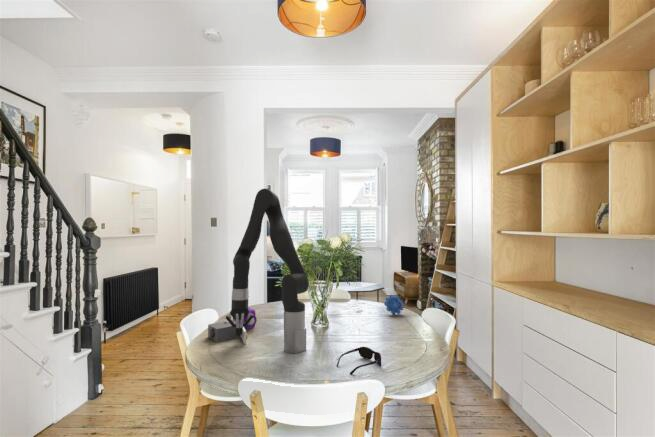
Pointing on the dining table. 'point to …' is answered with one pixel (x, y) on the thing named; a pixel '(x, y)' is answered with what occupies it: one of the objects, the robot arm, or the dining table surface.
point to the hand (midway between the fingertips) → (239, 335)
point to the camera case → (222, 331)
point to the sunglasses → (364, 356)
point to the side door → (244, 335)
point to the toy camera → (253, 320)
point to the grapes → (394, 304)
